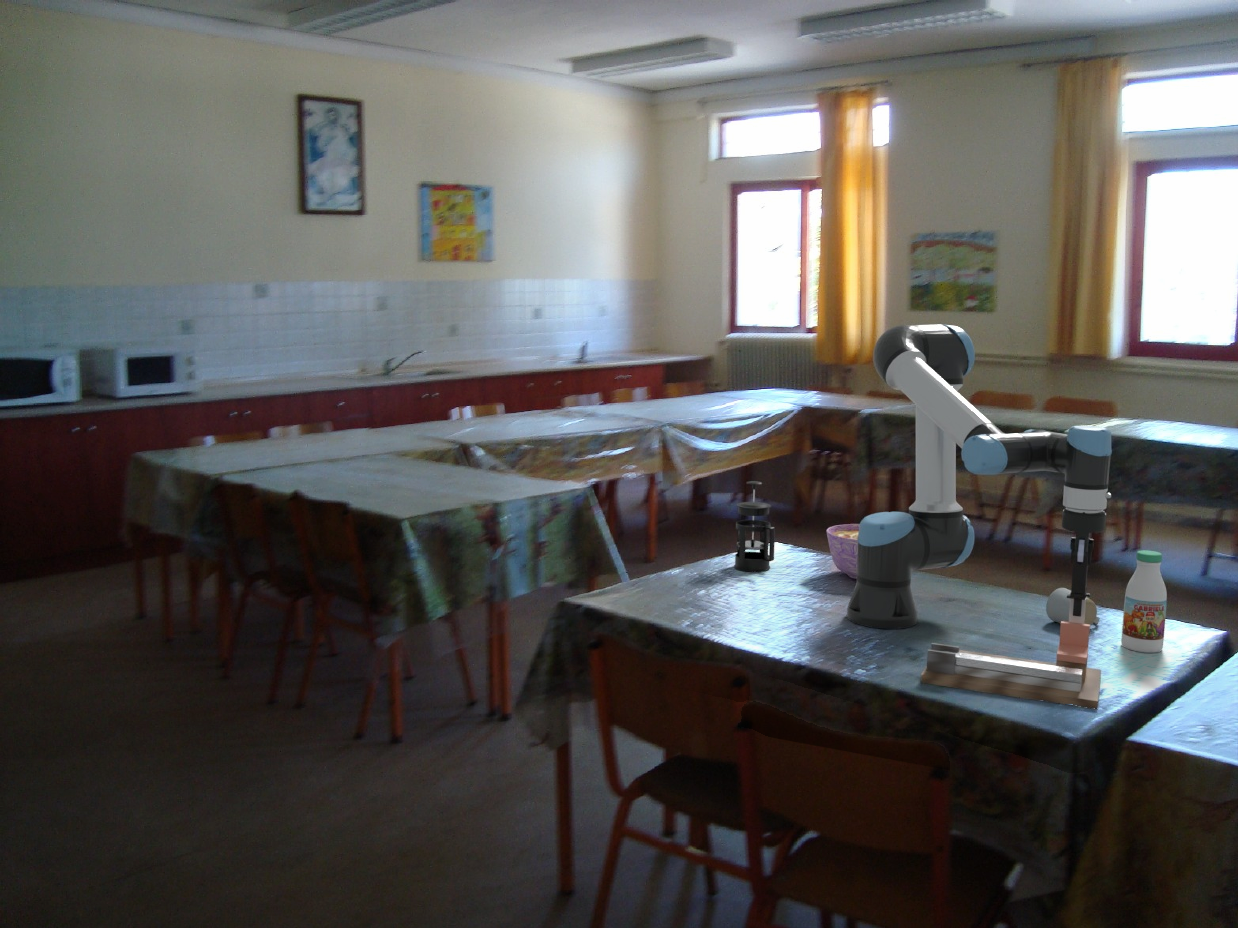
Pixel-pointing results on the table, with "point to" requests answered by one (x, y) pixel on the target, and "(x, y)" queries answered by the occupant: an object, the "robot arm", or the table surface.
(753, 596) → the table surface
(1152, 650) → the milk bottle
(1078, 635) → the bracket
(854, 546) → the bowl of food
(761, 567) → the french press
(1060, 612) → the ceramic mug
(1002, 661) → the tong arm
